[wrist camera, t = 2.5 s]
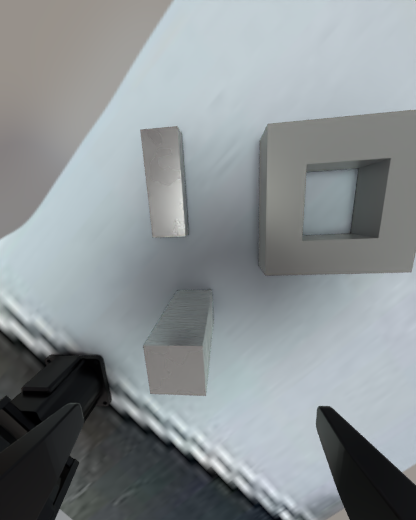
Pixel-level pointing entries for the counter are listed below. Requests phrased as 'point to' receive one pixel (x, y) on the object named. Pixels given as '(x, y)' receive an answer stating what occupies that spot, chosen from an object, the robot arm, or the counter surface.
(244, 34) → the counter surface
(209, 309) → the square bit
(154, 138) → the flat bit
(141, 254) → the counter surface
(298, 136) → the bore block
